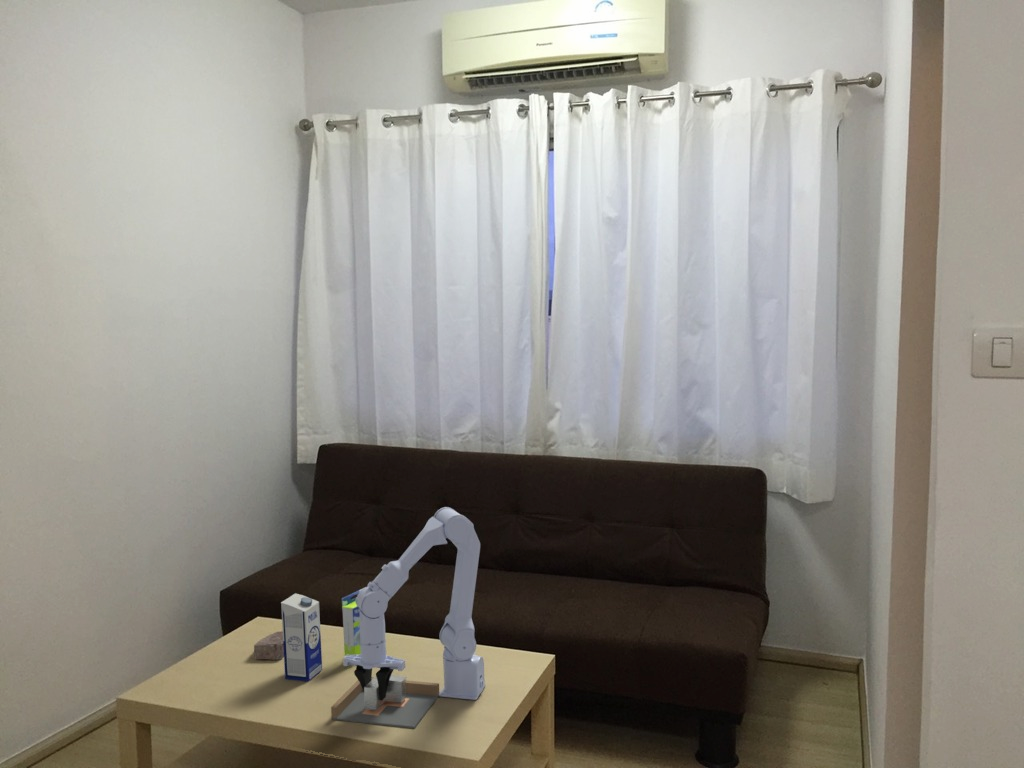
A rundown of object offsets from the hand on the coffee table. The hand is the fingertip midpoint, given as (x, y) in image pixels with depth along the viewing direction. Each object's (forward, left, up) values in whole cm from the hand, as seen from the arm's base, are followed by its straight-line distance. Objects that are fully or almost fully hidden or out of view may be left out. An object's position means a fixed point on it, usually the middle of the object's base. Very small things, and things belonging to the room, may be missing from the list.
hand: (375, 697), depth 188 cm
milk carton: (+26, -14, -3) cm, 30 cm away
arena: (-2, -2, -3) cm, 4 cm away
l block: (-2, -1, -2) cm, 3 cm away
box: (+16, -27, -3) cm, 31 cm away
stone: (+41, -25, -3) cm, 48 cm away
